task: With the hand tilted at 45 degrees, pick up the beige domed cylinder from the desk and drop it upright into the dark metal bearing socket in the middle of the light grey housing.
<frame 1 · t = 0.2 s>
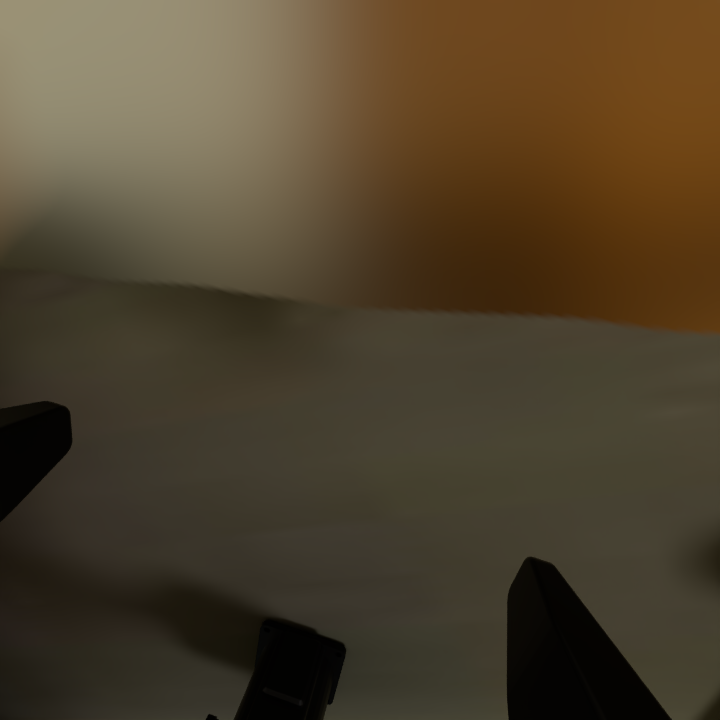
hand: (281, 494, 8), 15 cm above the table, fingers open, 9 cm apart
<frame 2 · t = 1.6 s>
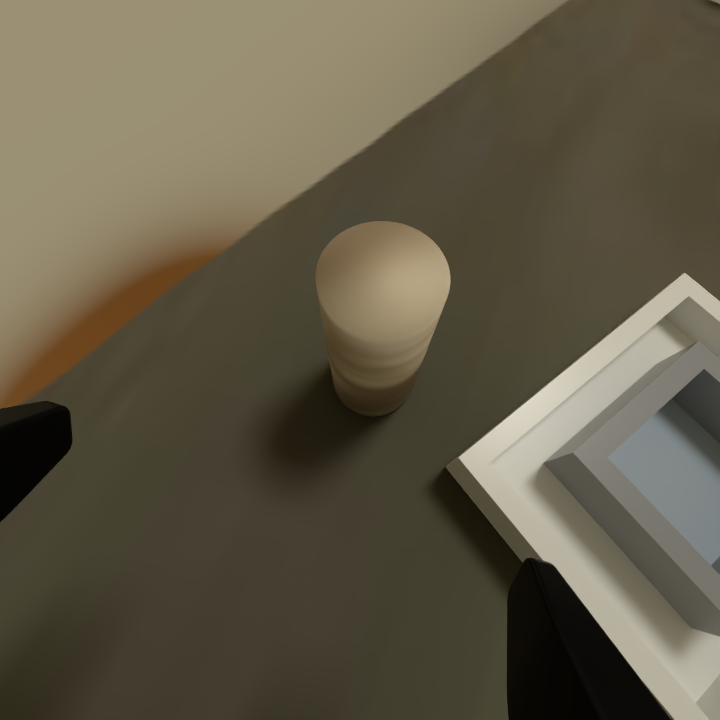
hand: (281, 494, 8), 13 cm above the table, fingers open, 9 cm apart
housing: (657, 483, 21), on the table
beige domed cylinder: (372, 377, 23), on the table
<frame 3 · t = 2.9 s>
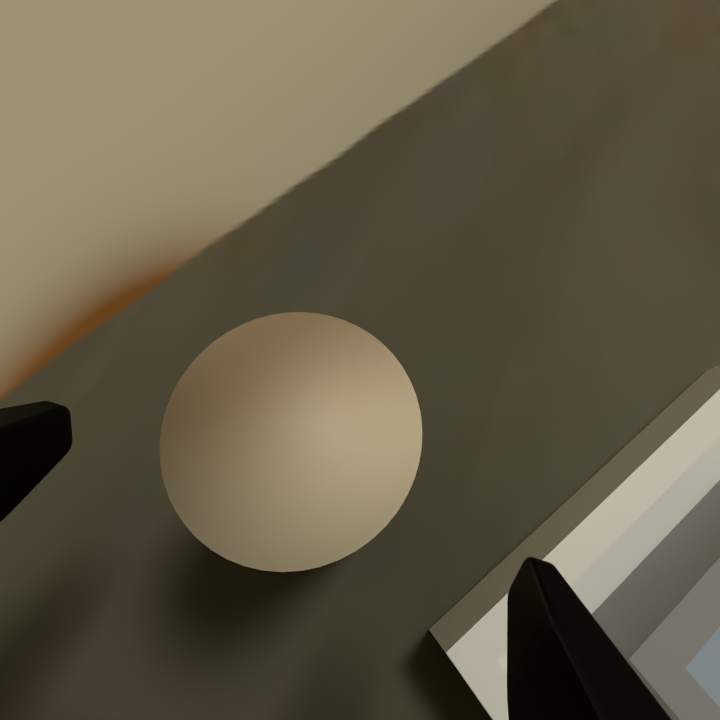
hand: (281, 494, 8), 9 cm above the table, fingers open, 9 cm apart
beige domed cylinder: (328, 486, 16), on the table
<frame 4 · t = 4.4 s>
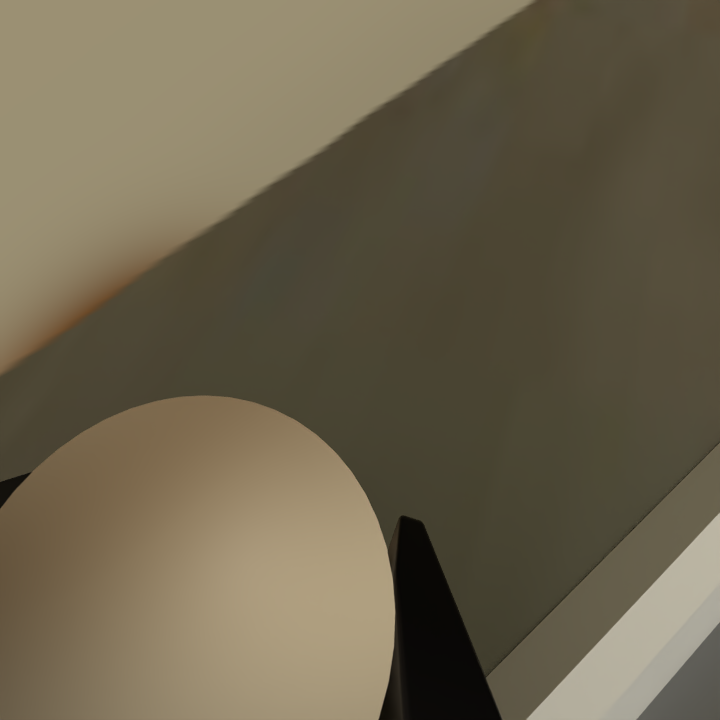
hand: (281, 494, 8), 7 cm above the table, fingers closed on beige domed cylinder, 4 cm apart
beige domed cylinder: (300, 552, 13), on the table, touching gripper
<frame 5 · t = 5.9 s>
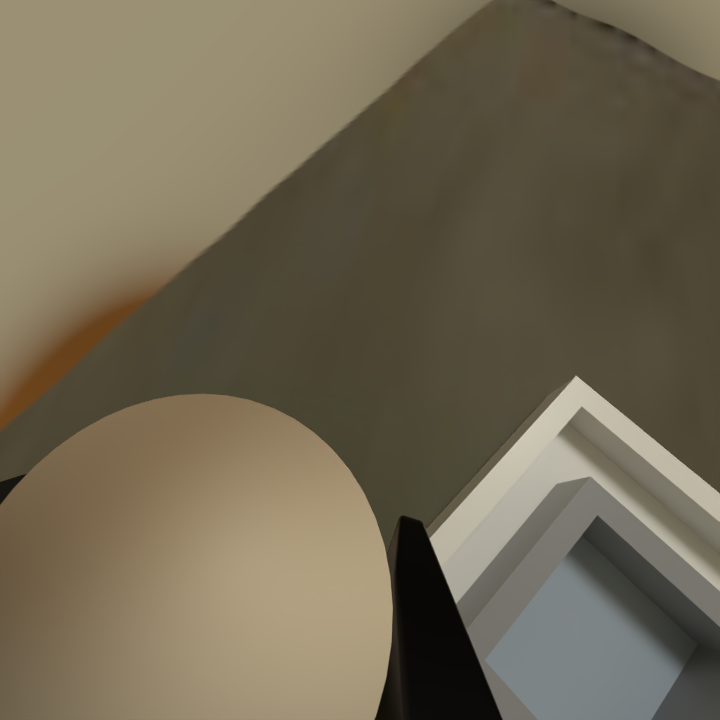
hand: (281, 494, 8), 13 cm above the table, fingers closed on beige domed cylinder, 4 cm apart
housing: (568, 634, 18), on the table
beige domed cylinder: (299, 552, 13), point 6 cm above the table, touching gripper
when the fingers open (9 cm above the table, at t = 7.6 s): beige domed cylinder drops 1 cm, resting on housing.
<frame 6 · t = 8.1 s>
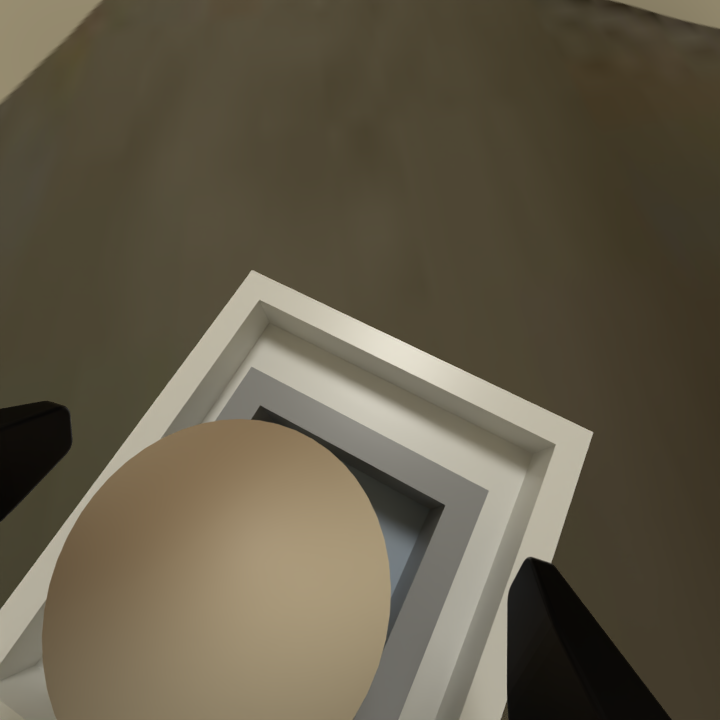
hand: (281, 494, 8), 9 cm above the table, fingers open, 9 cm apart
housing: (309, 548, 16), on the table
beige domed cylinder: (307, 552, 15), point 1 cm above the table, touching housing
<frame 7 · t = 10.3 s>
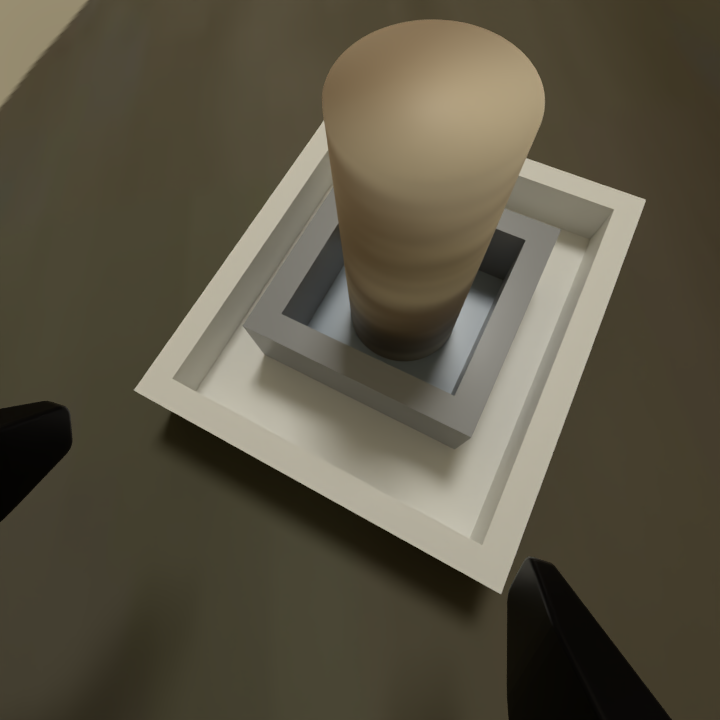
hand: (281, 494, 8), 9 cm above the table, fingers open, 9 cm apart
housing: (400, 322, 19), on the table
beige domed cylinder: (403, 312, 18), point 1 cm above the table, touching housing
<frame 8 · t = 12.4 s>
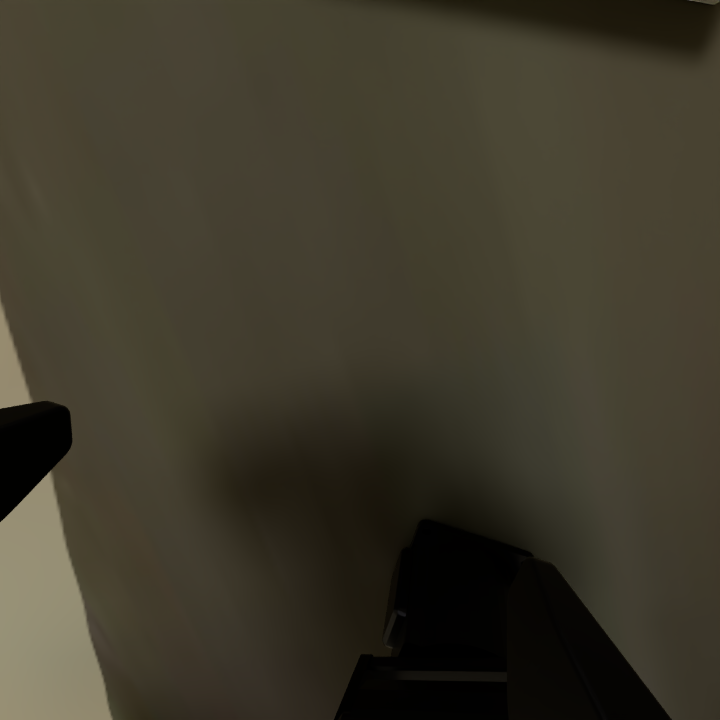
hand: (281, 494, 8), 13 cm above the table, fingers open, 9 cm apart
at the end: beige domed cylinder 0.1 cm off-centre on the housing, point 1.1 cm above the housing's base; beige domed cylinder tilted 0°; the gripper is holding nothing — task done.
